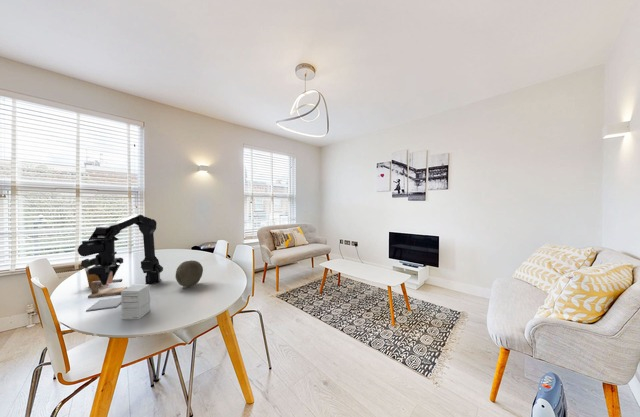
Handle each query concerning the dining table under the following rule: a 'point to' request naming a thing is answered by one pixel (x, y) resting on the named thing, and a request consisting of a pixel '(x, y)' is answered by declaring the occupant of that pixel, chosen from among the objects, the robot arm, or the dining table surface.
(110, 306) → the coaster
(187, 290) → the dining table surface
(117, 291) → the stand
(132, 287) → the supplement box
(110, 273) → the u-shaped block
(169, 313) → the dining table surface
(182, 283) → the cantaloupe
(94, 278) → the disposable coffee cup
